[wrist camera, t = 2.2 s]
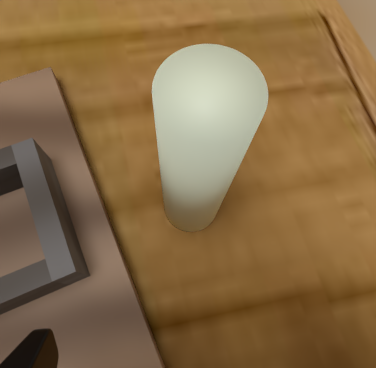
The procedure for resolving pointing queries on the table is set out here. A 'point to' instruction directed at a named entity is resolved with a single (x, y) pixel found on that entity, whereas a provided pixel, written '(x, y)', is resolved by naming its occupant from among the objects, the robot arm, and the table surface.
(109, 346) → the keeper
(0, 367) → the robot arm
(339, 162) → the table surface
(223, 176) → the pale green peg
